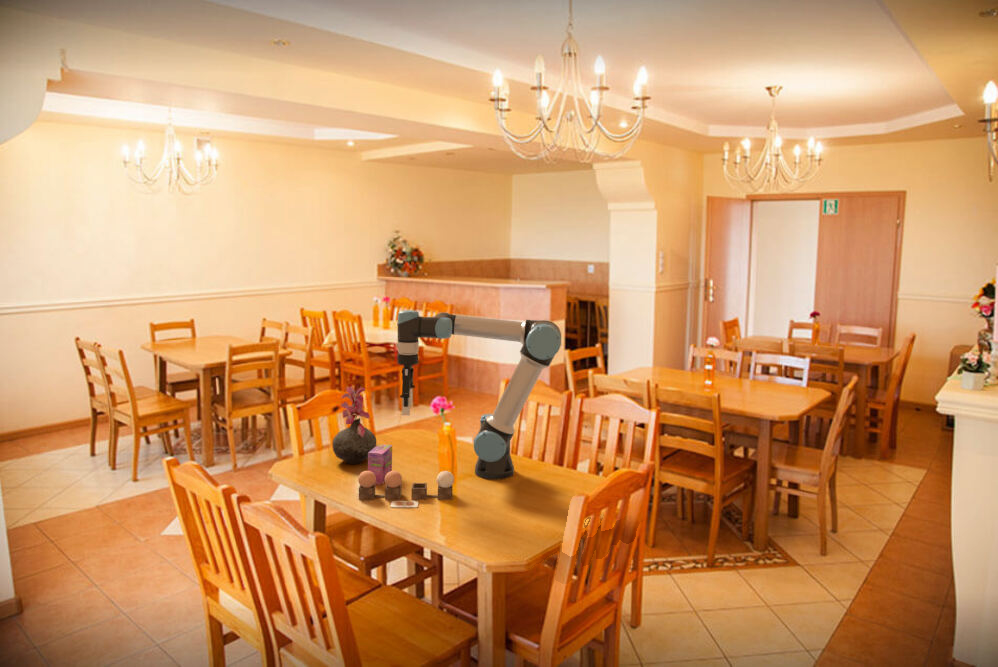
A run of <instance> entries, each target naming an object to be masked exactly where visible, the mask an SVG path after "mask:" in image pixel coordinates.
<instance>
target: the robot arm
mask: <svg viewBox="0 0 998 667" xmlns="http://www.w3.org/2000/svg"><path fill="white" fill-rule="evenodd" d="M397 314H398V315H397V322H396V324H397V343H396V344H395V347H397V356H396V357H397V360H396V362H397V364H398V365H401V366H403V368H402V369H401V375H402V376H401V380H402V386H401V387H402V390H401V394H400V395H399V398H400V399H401V401H402V403H401V416H411V407H412V406H414V405H413V403H414V401H413V400H414V399H413V398H414V397H413V396H414V394H413V393H414V390H413V389H414V388H415V384H414V380H413V378H414V370H415V369H414V368H413V366H415V365H417V364H419V354H418V353H419V348H420V347H419V346H420V345H419V339H420V338H424V339H425V338H429V339H440V340H442V339H450V338H451V337H452V335H456V336H462V337H473V338H482V339H491V340H497V341H498V340H499V341H500V340H501V341H507V342H518V343H520V344H521V345H522V347H521V349H520V351H519V353H520V359H519V361H518V364H517V366H516V367H515V369H514V371H513V373H512V376H511V378H510V379H509V381H508V384H507V386H506V387H505V389H504V392H503V393H502V395H501V397H500V399H499V401H498V402H497V405H496V407H495V408H494V411H493V413H484V414H482V415H481V417H480V420H479V422H480V425H479V426H480V428H479V431H477V432H478V433H477V434H476V436H475V437H474V440H473V450H474V452H475V454H476V456H477V460H476V463H475V466H474V473H475V475H476V476H477V477H479V478H482V479H486V480H504V479H505V480H506V479H508V478H511V477H512V476H514V474H515V467H514V464H513V460H512V456H511V441H512V439H513V436H514V434H515V431H516V430H515V428H514V425H515V423H516V421H517V420H518V418H519V415H520V414H521V412H522V410H523V408H524V406H525V404H526V402H527V401H528V398H529V396H530V395H531V393H532V390H533V388H534V386H535V385H536V383H537V381H538V378H539V377H540V375H541V373H542V371H543V369H545V368H549V367H550V365H551V363H552V362H553V359H554V357H555V356H556V355H557V353H558V352H559V351H560V349H561V347H562V346H561V345H562V332H561V330H560V327H559V326H558V325H557V324H556V323H554V322H553V321H550V320H539V319H538V320H536V319H525V320H523V321H515V320H507V319H499V318H498V319H497V318H487V317H478V316H472V315H471V316H470V315H461V314H451V313H448V312H440V313H437V314H436V315H435V316H420V312H419V311H418V310H410V309H407V310H404V309H403V310H400V311H399V312H398V313H397Z"/></svg>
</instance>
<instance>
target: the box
mask: <svg viewBox="0 0 998 667" xmlns="http://www.w3.org/2000/svg"><path fill="white" fill-rule="evenodd" d="M367 471H371V472H373V473H374V474H375V476H376V482H375V485H383V484H384V483H385V476H386V474H387V473H388V472H390V471H393V445H391V444H384V443H378V444H376V447H374V448H373V449H372V450H371V451H370V452H368V458H367Z"/></svg>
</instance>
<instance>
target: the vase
mask: <svg viewBox="0 0 998 667" xmlns="http://www.w3.org/2000/svg"><path fill="white" fill-rule="evenodd" d="M345 389H346V392H347V393H344V394H343V395H341V398H340V399H342V400H343V398H348V399H349V400H350V402H351V405H349V403H348V402H346V401H343V403H341V404H340V407H341V408H344V409H343V410H342V418H343V419H345V418H346V420H345V425H350V426H349V427H346V428H344V429H342V430H340V431H339V432H337V434H336V435H335V436H334V438H332V439H333V440H332V449H333V450H332V452H333V453H334V455H335V456H336V458H338V459H339V460H342V461H343V462H346V464H349V465H357V464H358V465H359V464H362V463H363V462H364V461H365V460H368V452H370V451H371V450H372V449H373V448H374V447H376V446H377V437H376V435H375V433H374V432H372V431H371V430H370V429H368V428H367V427H365V426H364V425H363V424H362V423H361V418H360V417H362V418H365V419H370V414H369V412H368V411H365V410H364V408H363V403H364V398H363V396H361V393H362V392H365V391H366V389H365V388H364V387H362V386H361V387H359V388H358V389H357V390H354V387H353V386H348V387H345ZM358 416H359V418H357V417H358Z"/></svg>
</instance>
